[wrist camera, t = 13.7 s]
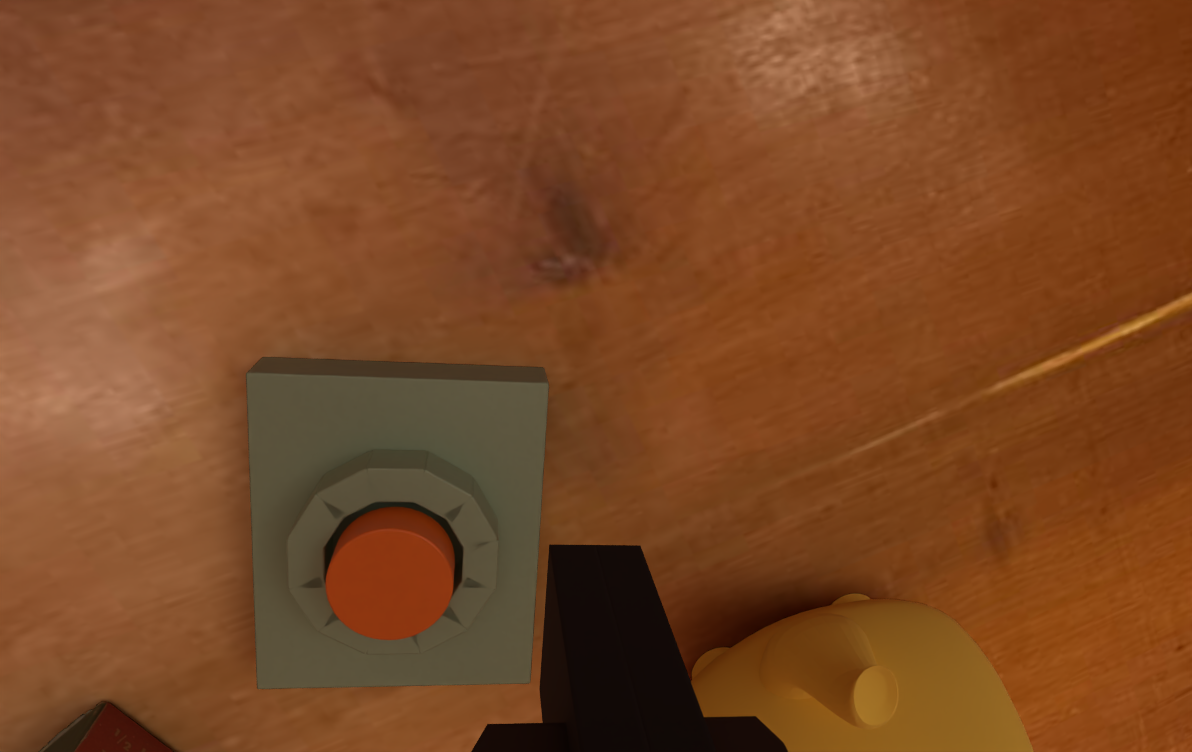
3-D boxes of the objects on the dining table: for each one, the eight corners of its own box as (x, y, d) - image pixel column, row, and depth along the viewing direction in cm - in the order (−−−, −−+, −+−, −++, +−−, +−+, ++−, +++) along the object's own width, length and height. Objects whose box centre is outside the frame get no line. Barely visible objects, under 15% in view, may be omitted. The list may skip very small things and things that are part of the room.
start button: (333, 504, 27) (324, 528, 26) (456, 506, 28) (455, 529, 26) (334, 613, 28) (325, 642, 27) (453, 612, 29) (451, 640, 27)
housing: (261, 356, 29) (229, 388, 25) (544, 367, 31) (553, 398, 27) (270, 654, 32) (243, 722, 28) (527, 650, 34) (533, 715, 30)
